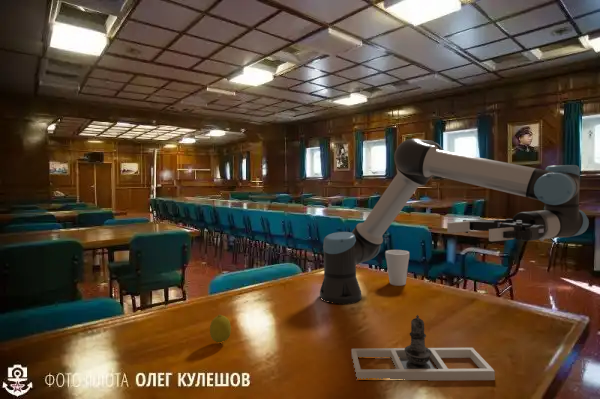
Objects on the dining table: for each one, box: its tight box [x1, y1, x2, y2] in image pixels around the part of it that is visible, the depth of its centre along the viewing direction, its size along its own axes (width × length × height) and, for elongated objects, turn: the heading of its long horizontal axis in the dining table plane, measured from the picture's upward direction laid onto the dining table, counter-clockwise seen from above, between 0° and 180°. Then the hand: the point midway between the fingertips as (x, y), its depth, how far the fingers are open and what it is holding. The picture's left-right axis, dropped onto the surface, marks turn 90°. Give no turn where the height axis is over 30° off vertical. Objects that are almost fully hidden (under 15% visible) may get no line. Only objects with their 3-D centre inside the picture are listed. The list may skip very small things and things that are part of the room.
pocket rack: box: [350, 347, 496, 381], centre depth 80 cm, size 29×10×2 cm, turn 88°
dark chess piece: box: [404, 314, 432, 369], centre depth 80 cm, size 6×6×12 cm
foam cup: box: [384, 249, 410, 287], centre depth 144 cm, size 10×9×13 cm
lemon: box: [209, 314, 232, 343], centre depth 95 cm, size 6×6×8 cm
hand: (467, 231), depth 86 cm, fingers open, 13 cm apart
